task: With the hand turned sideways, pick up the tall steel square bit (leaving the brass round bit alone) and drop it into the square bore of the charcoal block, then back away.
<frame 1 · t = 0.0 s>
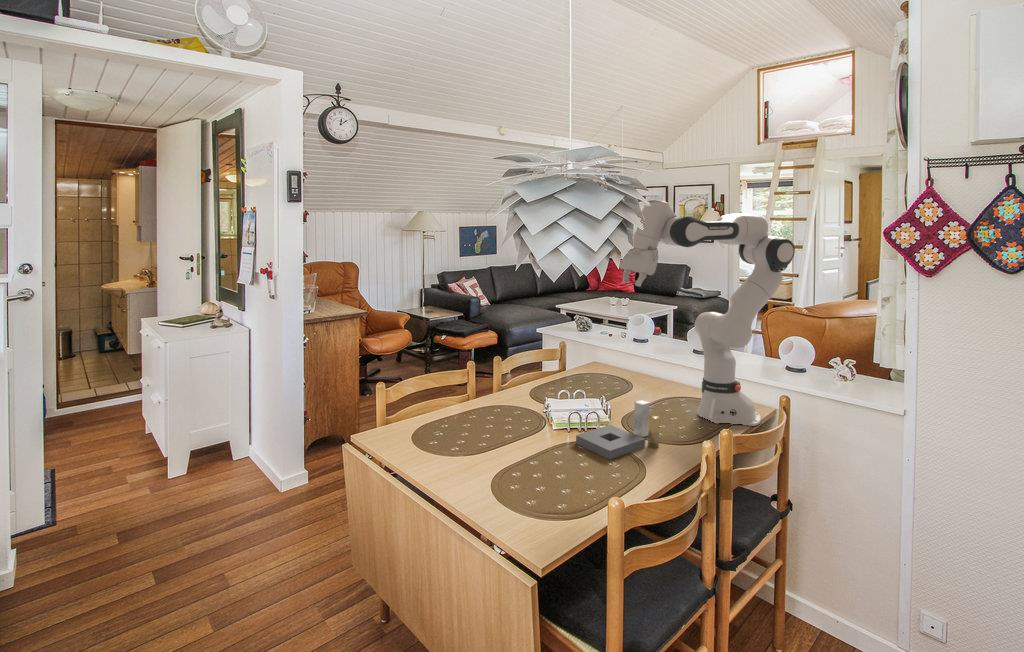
hand: (631, 284, 197), 52 cm above the table, tool tilted 20°, fingers open, 8 cm apart
bore block: (610, 445, 190), on the table
round bit: (653, 446, 189), on the table
square bit: (641, 435, 198), on the table
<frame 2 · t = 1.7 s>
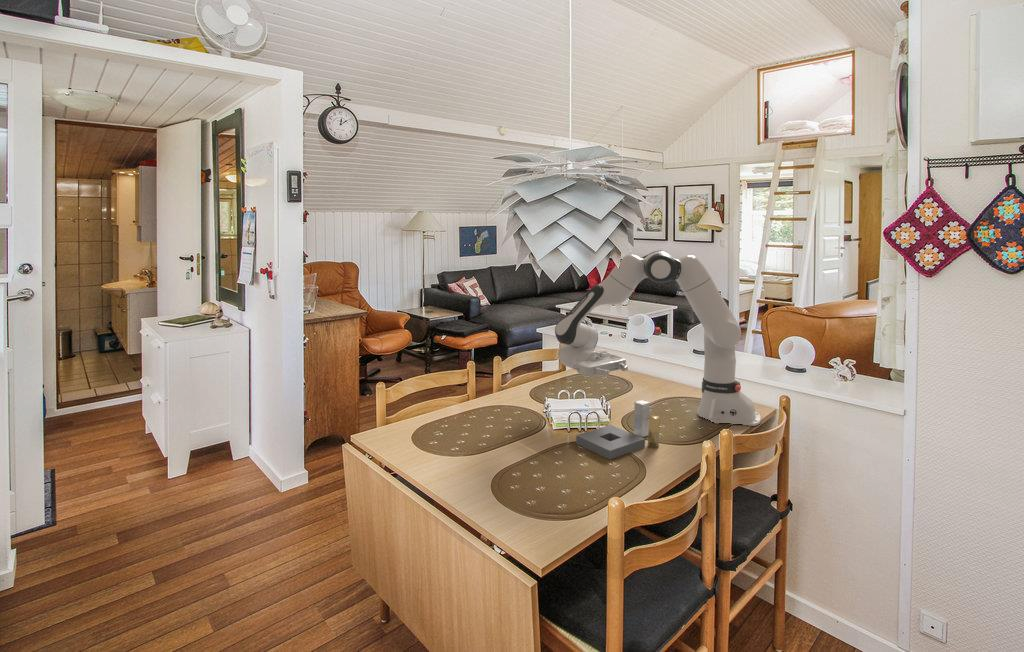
hand: (617, 370, 204), 21 cm above the table, tool horizontal, fingers open, 8 cm apart
nothing on the table moved.
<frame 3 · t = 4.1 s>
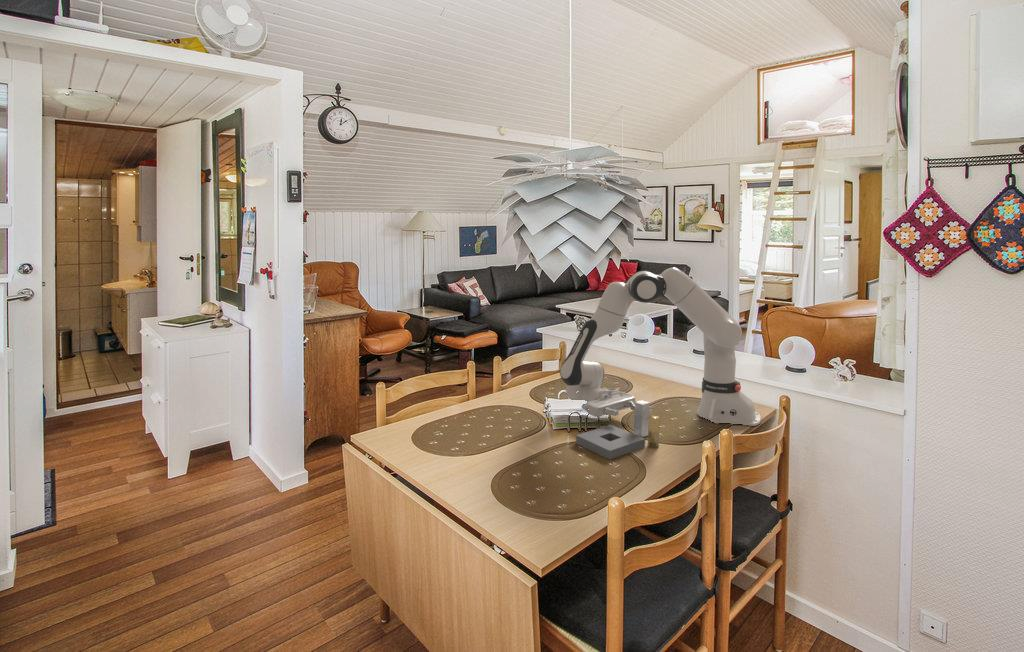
hand: (626, 410, 203), 7 cm above the table, tool horizontal, fingers open, 8 cm apart
nothing on the table moved.
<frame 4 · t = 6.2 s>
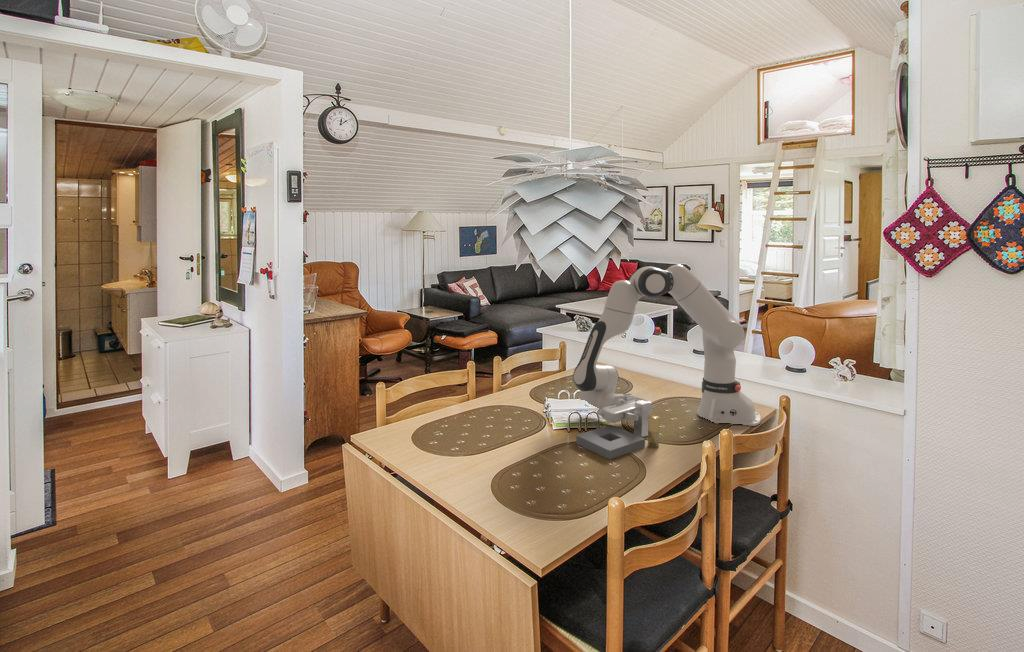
hand: (643, 416, 196), 7 cm above the table, tool horizontal, fingers closed on square bit, 4 cm apart
square bit: (641, 435, 198), on the table, touching gripper
everything else where it was.
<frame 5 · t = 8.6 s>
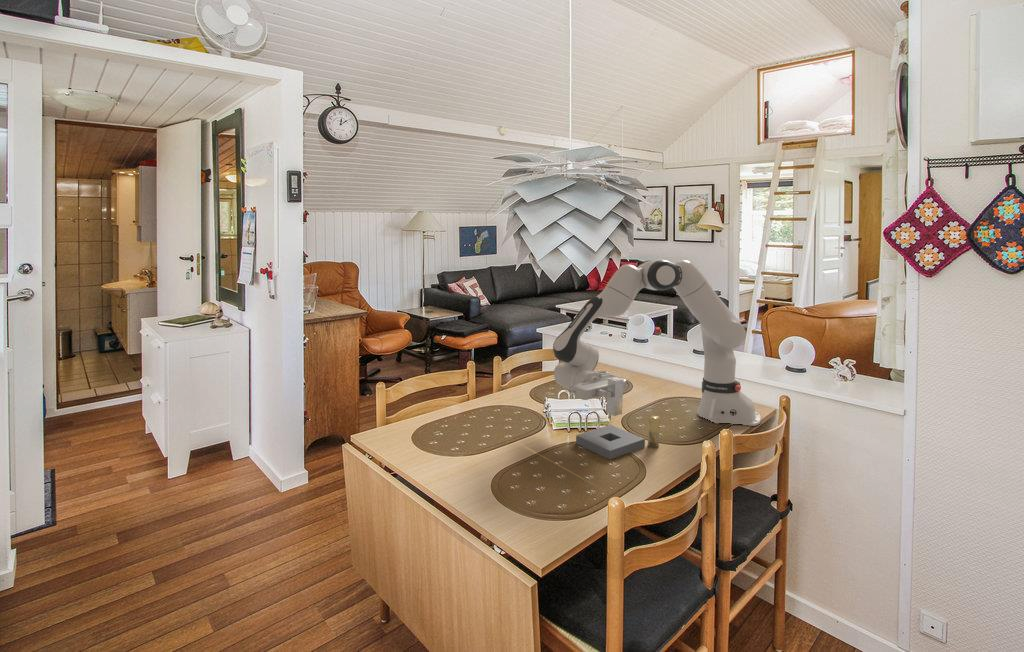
hand: (616, 393, 187), 18 cm above the table, tool horizontal, fingers closed on square bit, 4 cm apart
square bit: (614, 413, 189), point 11 cm above the table, touching gripper
everything else where it was.
when the fingers open (8 cm above the table, at t = 11.2 s): square bit drops 1 cm, resting in bore block.
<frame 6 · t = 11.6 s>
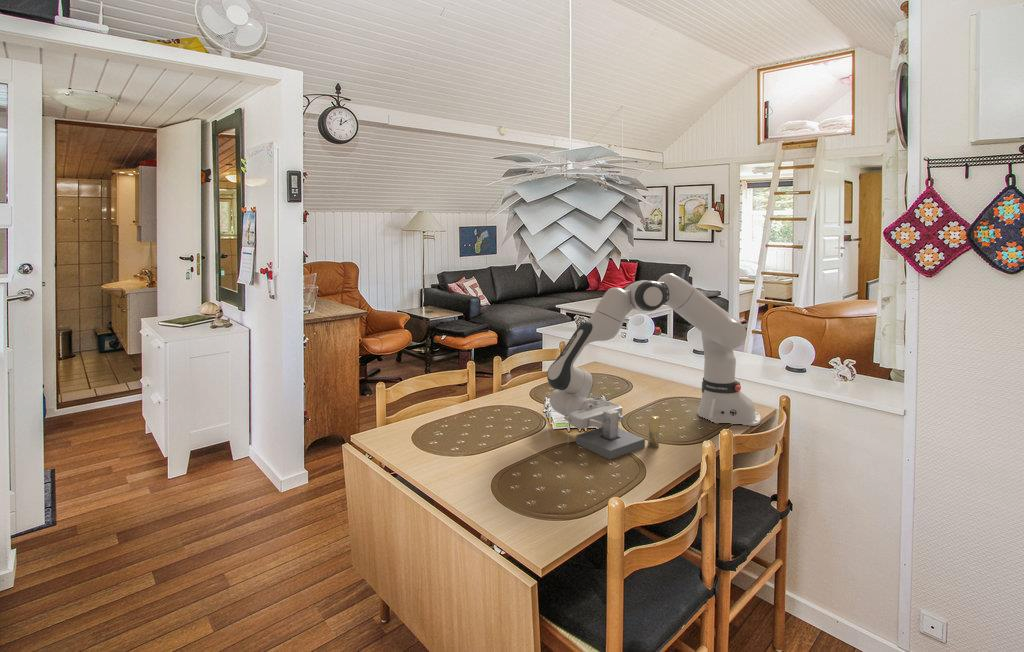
hand: (612, 422, 187), 8 cm above the table, tool horizontal, fingers open, 8 cm apart
square bit: (610, 445, 190), resting in bore block
everything else where it was.
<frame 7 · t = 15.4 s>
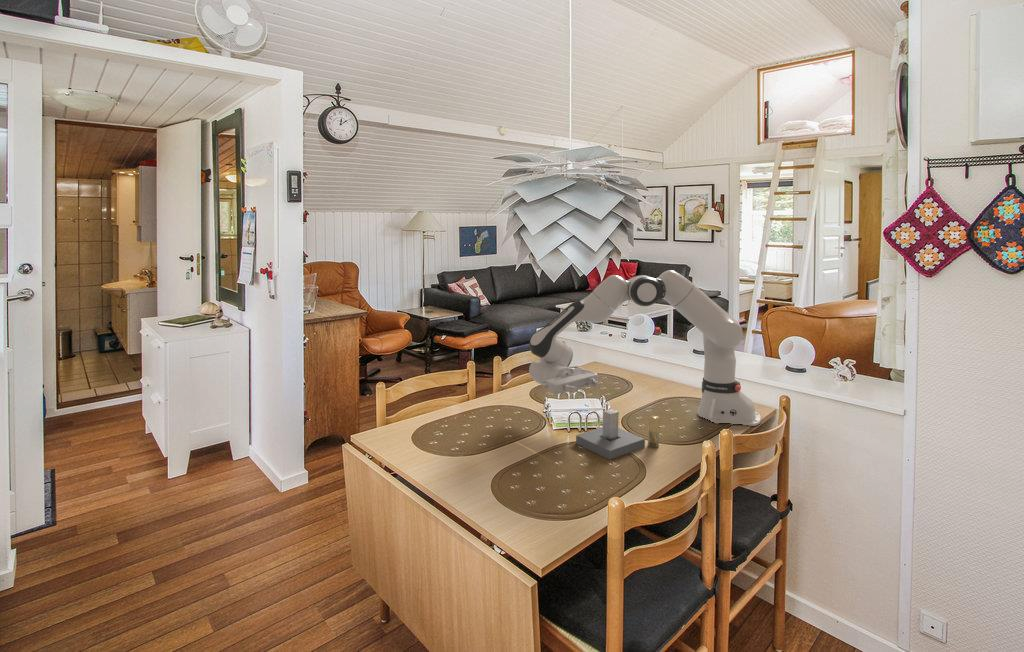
hand: (587, 387, 196), 17 cm above the table, tool horizontal, fingers open, 8 cm apart
nothing on the table moved.
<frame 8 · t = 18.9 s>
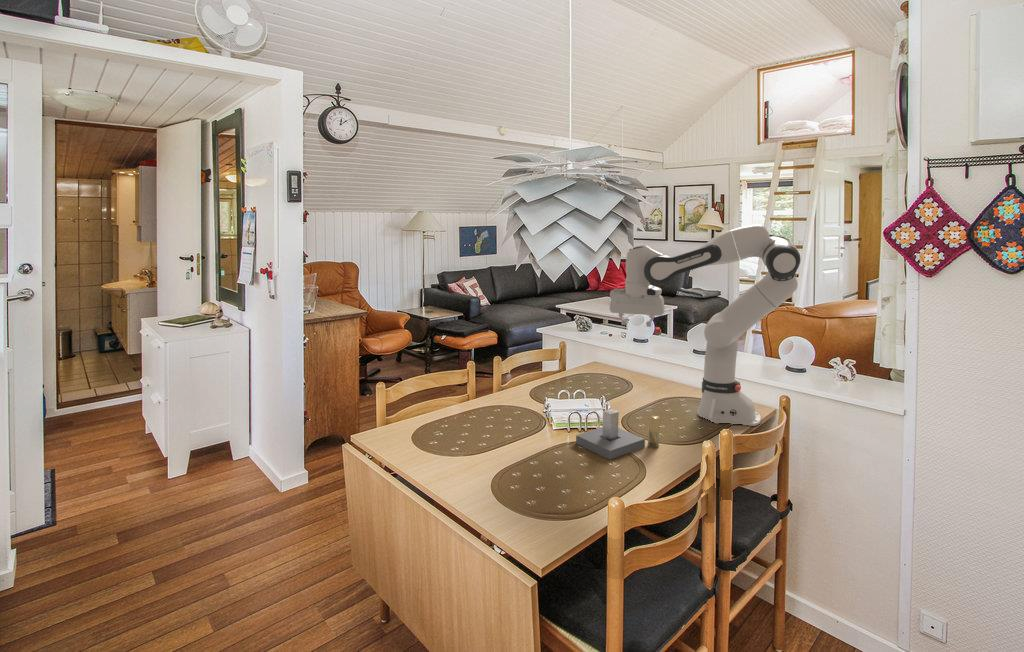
hand: (636, 325, 215), 34 cm above the table, tool pointing down, fingers open, 8 cm apart
nothing on the table moved.
at the end: square bit 0.1 cm off-centre on the bore block, point 0.0 cm above the bore block's base; square bit tilted 0°; round bit moved 0.0 cm from its start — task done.
